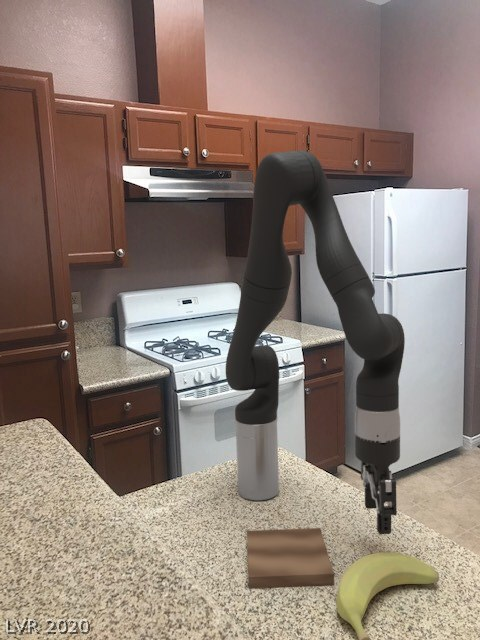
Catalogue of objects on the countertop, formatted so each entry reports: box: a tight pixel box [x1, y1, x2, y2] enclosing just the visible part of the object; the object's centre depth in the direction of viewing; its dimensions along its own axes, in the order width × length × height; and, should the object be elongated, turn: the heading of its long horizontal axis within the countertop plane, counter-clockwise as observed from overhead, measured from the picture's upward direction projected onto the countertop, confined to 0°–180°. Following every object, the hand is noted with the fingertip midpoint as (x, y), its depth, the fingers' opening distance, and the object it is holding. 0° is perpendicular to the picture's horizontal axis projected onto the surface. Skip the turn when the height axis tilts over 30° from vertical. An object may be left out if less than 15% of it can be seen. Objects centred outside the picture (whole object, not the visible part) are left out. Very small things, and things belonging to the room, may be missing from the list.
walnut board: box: [246, 527, 335, 589], centre depth 93 cm, size 14×14×2 cm
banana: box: [335, 551, 440, 640], centre depth 80 cm, size 14×6×20 cm
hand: (377, 519), depth 92 cm, fingers open, 8 cm apart
